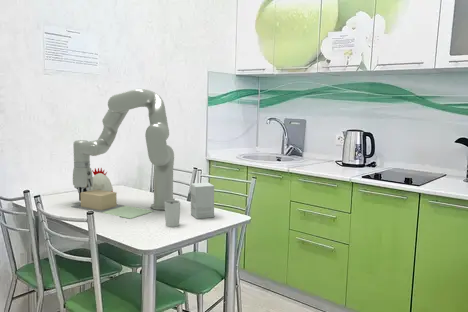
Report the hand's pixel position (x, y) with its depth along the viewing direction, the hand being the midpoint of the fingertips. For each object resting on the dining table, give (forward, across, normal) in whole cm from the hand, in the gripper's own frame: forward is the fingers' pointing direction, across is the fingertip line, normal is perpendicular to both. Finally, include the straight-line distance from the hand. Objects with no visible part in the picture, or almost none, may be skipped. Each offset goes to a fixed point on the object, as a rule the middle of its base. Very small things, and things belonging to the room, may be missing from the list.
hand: (82, 200), depth 208 cm
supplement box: (+2, -63, -14) cm, 65 cm away
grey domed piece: (+2, +13, -24) cm, 27 cm away
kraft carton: (+2, -11, 0) cm, 11 cm away
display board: (+2, -20, 0) cm, 20 cm away
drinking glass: (+2, -60, +5) cm, 60 cm away
